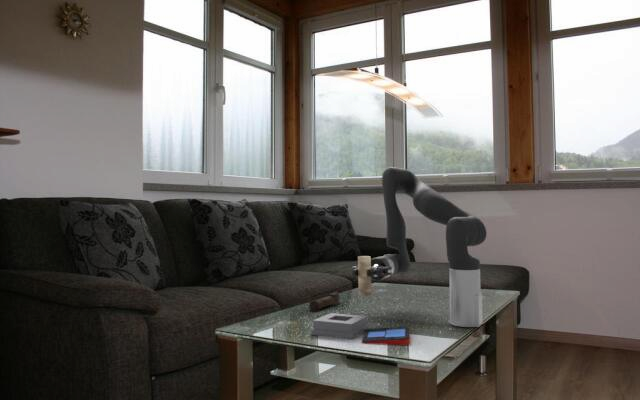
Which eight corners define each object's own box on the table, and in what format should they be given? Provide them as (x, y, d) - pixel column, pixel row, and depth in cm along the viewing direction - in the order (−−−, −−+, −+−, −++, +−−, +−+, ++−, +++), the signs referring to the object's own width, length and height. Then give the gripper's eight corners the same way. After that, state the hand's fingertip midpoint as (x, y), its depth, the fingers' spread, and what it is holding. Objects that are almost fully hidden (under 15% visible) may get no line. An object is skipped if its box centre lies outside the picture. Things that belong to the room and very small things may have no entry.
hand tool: (318, 312, 185) (318, 299, 186) (308, 311, 188) (308, 298, 188) (345, 304, 201) (345, 292, 201) (336, 303, 204) (336, 291, 204)
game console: (366, 332, 154) (365, 325, 154) (409, 334, 152) (409, 326, 152) (361, 345, 140) (361, 336, 140) (409, 346, 138) (409, 338, 138)
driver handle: (373, 294, 166) (372, 256, 166) (368, 295, 162) (367, 257, 163) (361, 293, 168) (360, 255, 168) (356, 295, 164) (355, 256, 165)
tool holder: (369, 329, 157) (369, 315, 157) (352, 339, 145) (352, 324, 145) (330, 325, 162) (330, 312, 162) (311, 334, 151) (310, 320, 151)
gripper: (360, 256, 181) (340, 260, 166) (400, 257, 175) (382, 261, 160) (361, 278, 181) (340, 284, 166) (400, 279, 175) (383, 286, 160)
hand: (361, 273), depth 163 cm, fingers closed on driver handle, 4 cm apart
